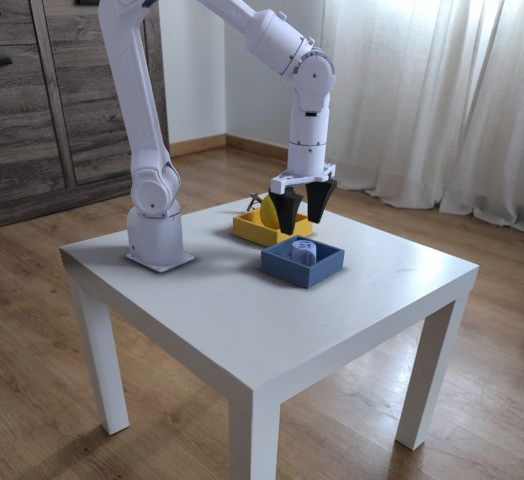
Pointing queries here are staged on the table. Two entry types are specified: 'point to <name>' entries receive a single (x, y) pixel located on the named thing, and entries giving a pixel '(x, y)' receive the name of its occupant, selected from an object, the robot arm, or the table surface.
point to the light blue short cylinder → (303, 252)
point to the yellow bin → (257, 232)
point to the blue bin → (281, 265)
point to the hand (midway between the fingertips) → (300, 227)
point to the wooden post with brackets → (255, 198)
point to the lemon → (269, 214)
